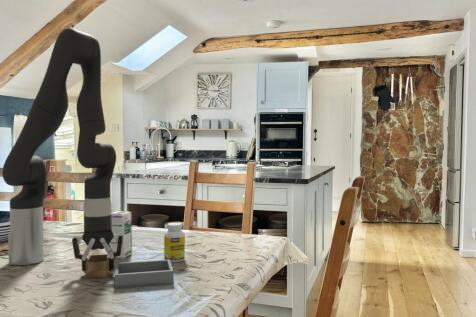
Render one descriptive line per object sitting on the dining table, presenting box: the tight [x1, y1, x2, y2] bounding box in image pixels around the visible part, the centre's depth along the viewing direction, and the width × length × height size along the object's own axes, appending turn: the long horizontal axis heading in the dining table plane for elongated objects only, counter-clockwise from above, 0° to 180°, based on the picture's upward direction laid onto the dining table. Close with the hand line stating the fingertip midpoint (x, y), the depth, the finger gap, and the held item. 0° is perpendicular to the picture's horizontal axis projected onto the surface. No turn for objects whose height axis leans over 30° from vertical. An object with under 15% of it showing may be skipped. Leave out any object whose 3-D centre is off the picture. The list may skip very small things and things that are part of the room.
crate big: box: [114, 259, 174, 289], centre depth 114 cm, size 15×11×4 cm
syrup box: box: [109, 210, 133, 259], centre depth 137 cm, size 6×6×14 cm
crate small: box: [85, 253, 110, 280], centre depth 118 cm, size 6×8×4 cm
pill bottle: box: [163, 222, 186, 263], centre depth 132 cm, size 6×6×12 cm
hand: (98, 271), depth 118 cm, fingers closed on crate small, 6 cm apart
